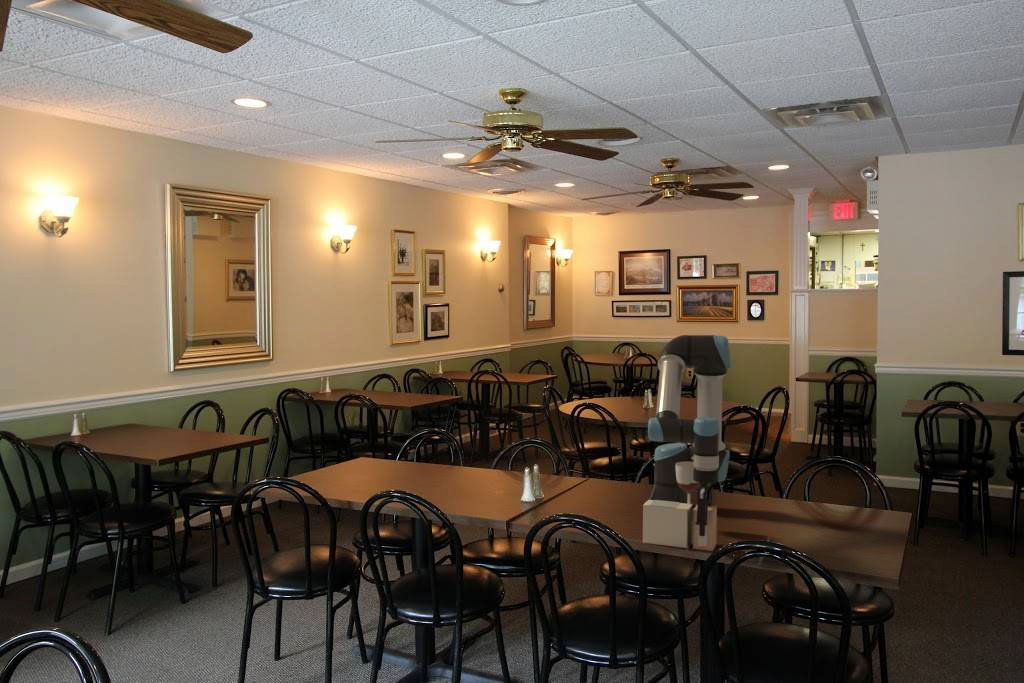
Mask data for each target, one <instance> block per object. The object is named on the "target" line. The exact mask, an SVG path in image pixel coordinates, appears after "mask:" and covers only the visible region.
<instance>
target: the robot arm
mask: <svg viewBox="0 0 1024 683" xmlns="http://www.w3.org/2000/svg"><path fill="white" fill-rule="evenodd" d="M731 361H732V359H731V354H730V344H729V339H728V337H727V336H725V335H717V334H716V335H715V334H693V335H692V334H690V335H689V334H682V335H679V336H676V337H674V338H671V340H669V341H668V342H667V343H666V344H665V346H663V348H662V349H661V350H660V353H659V355H658V358H657V368H658V371H659V380H658V388H657V400H656V409H655V410H656V411H655V417H650V418H649V419H648V423H647V438H648V439H649V441H651V442H659V443H665V444H662V445H658V446H657V447H656V448H655V449H654V458H653V460H654V471H653V472H654V478H653V479H654V481H653V482H654V483H653V488H652V491H651V493H650V497H649V499H648V500H661V501H671V502H680V503H686V504H688V493H687V492H685V491H684V490H682V489H681V488H680V487H679V485H678V483H677V478H676V463H678V462H694V465H693V466H694V467H695V468H694V469H693V480H694V481H696V482H699V483H700V487H698V489H697V493H696V494H697V504H696V505H697V522H695V524H696V525H698V546H705V547H707V511H708V506H714V502H713V501H714V498H713V497H714V484H716V483H718V482H724V481H725V480H726V478H727V474H728V468H729V461H730V455H731V454H730V450H729V449H727V448H726V444H725V443H724V442H723V441H722V431H723V430H722V426H723V425H722V421H723V418H722V417H723V378H724V377H725V376H727V374H728V370H730V369H732V362H731ZM686 368H689V369H692V370H693V374H694V375H695V376H696V377H697V407H696V408H697V409H696V410H697V412H696V414H697V415H696V416H697V417H696V418H694V419H692V418H691V419H689V418H687V419H686V418H680V411H681V410H680V409H681V408H680V407H681V397H682V396H681V394H682V380H683V379H682V378H683V372H684V371H685V370H686ZM687 444H692V448H690V447H688V446H687ZM690 504H692V502H691V500H690ZM701 520H703V521H701Z"/></svg>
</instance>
